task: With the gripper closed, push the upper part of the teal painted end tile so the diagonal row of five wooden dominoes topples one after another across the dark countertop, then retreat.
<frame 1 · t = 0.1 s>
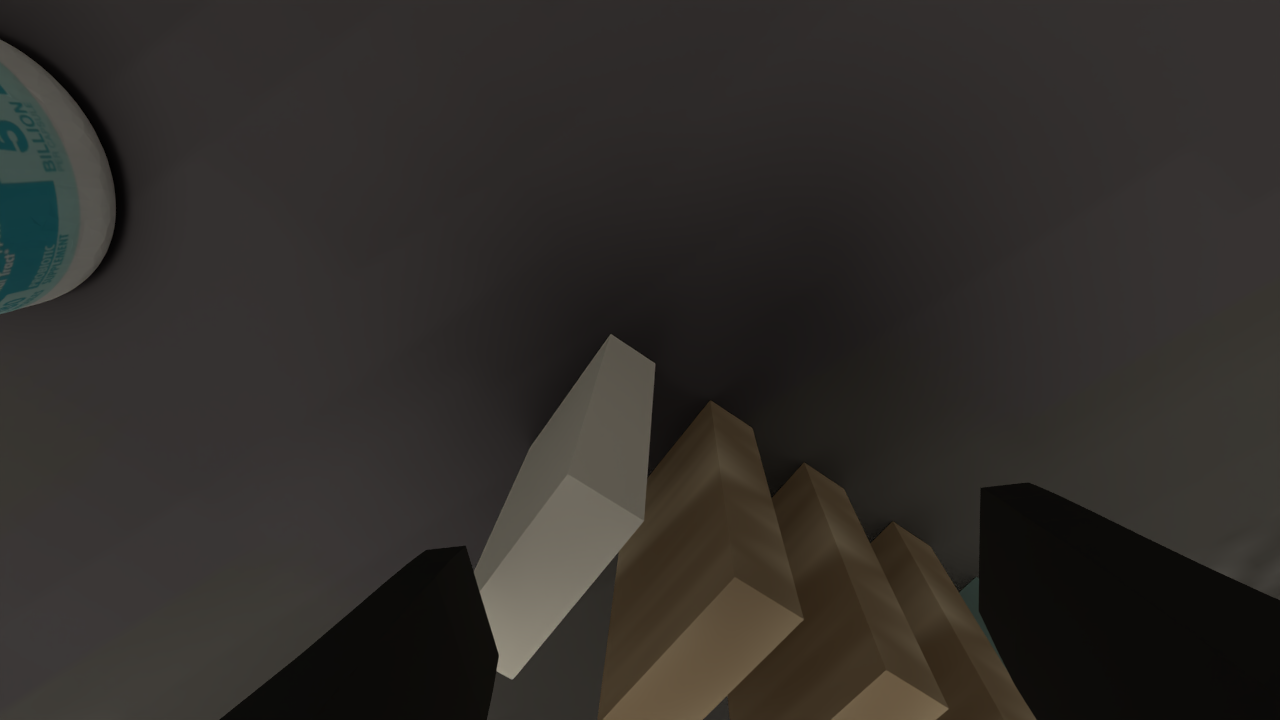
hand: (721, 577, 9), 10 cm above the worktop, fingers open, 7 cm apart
domino 1: (944, 632, 21), on the worktop
domino 3: (777, 526, 20), on the worktop
domino 4: (686, 468, 20), on the worktop
domino 2: (863, 580, 21), on the worktop
domino 5: (590, 406, 19), on the worktop
pill bottle: (8, 167, 18), on the worktop
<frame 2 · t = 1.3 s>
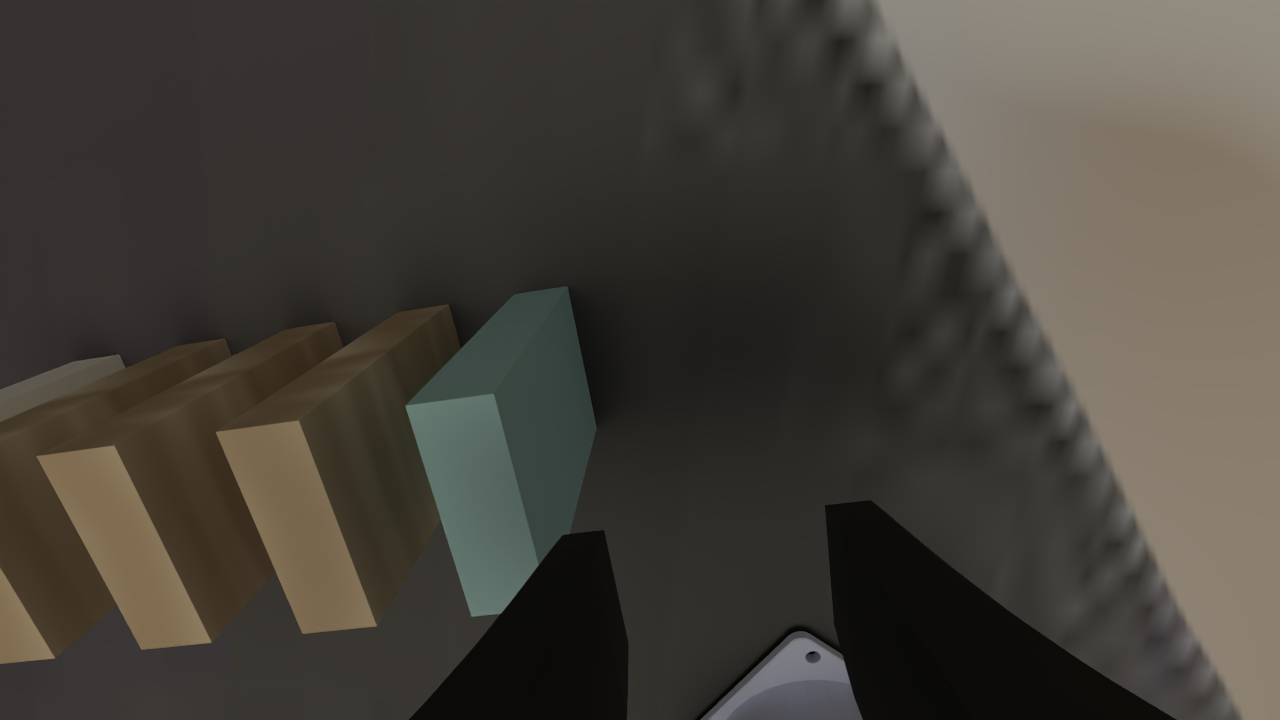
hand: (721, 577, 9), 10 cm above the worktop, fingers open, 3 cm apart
domino 1: (556, 363, 19), on the worktop
domino 3: (334, 394, 20), on the worktop
domino 4: (229, 409, 20), on the worktop
domino 2: (443, 379, 19), on the worktop
domino 5: (127, 423, 21), on the worktop
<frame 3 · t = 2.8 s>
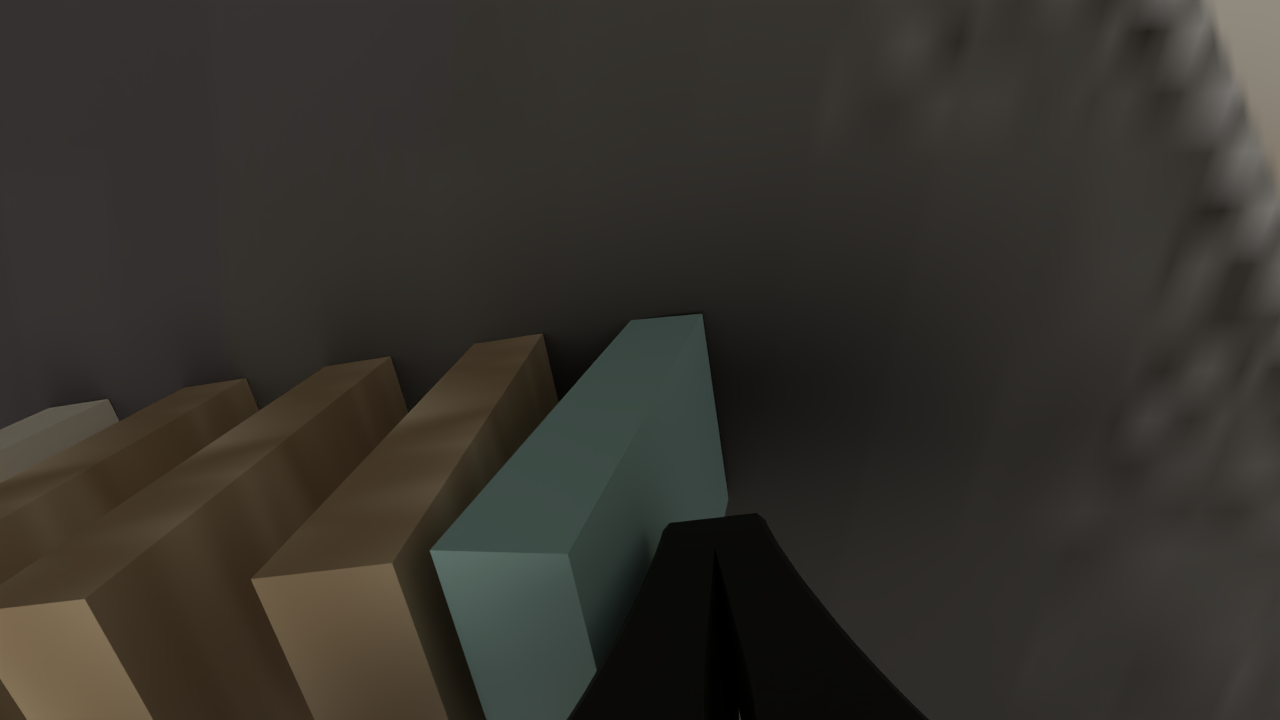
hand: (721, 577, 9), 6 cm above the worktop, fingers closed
domino 1: (681, 412, 14), on the worktop, tilted 12°
domino 3: (387, 449, 15), on the worktop
domino 4: (250, 467, 16), on the worktop
domino 2: (531, 429, 15), on the worktop
domino 5: (120, 485, 16), on the worktop
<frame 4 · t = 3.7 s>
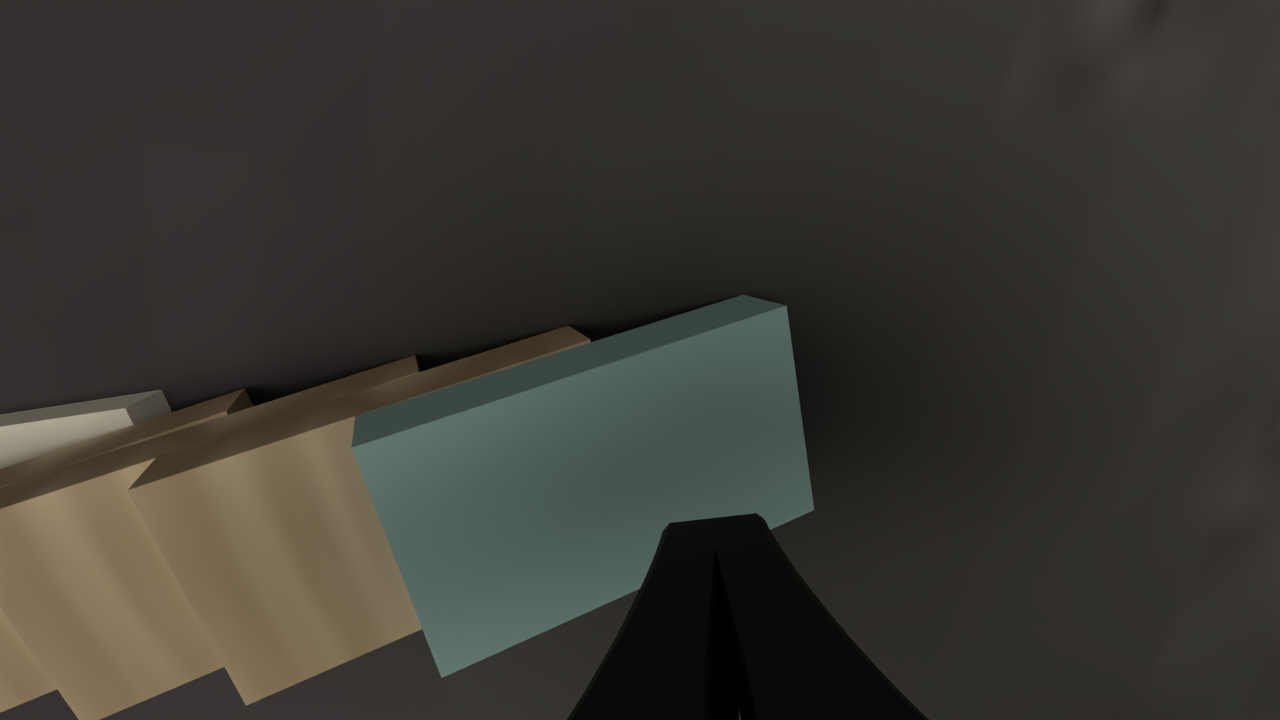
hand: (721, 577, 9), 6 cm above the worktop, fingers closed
domino 1: (778, 402, 14), point 1 cm above the worktop, tilted 65°, touching domino 2
domino 3: (451, 455, 14), point 1 cm above the worktop, tilted 65°, touching domino 2
domino 4: (281, 485, 15), point 1 cm above the worktop, tilted 68°
domino 2: (604, 429, 14), point 1 cm above the worktop, tilted 65°, touching domino 1, domino 3
domino 5: (192, 478, 16), on the worktop, tilted 91°
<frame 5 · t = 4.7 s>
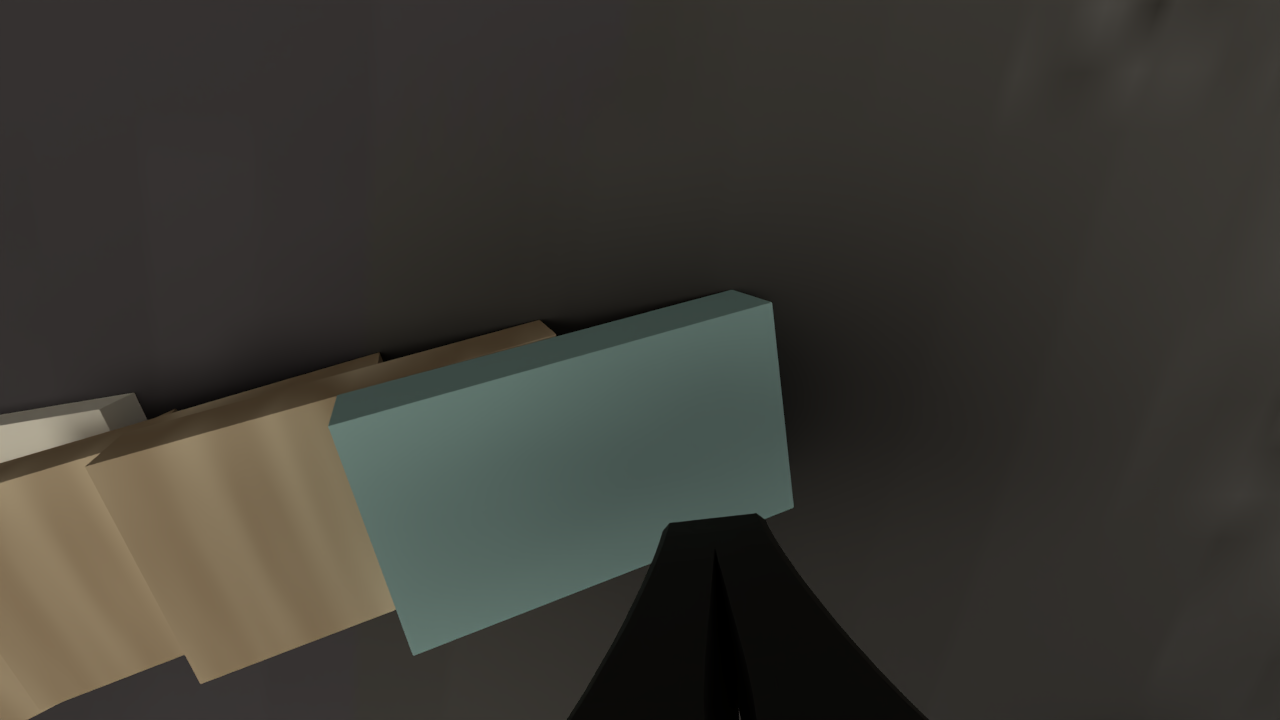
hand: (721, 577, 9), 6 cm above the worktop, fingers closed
domino 1: (762, 398, 13), point 1 cm above the worktop, tilted 67°, touching domino 2
domino 3: (413, 453, 14), point 1 cm above the worktop, tilted 67°, touching domino 2, domino 4
domino 4: (224, 501, 15), point 1 cm above the worktop, tilted 68°, touching domino 3, domino 5
domino 2: (571, 425, 14), point 1 cm above the worktop, tilted 66°, touching domino 1, domino 3
domino 5: (169, 479, 16), on the worktop, tilted 90°, touching domino 4
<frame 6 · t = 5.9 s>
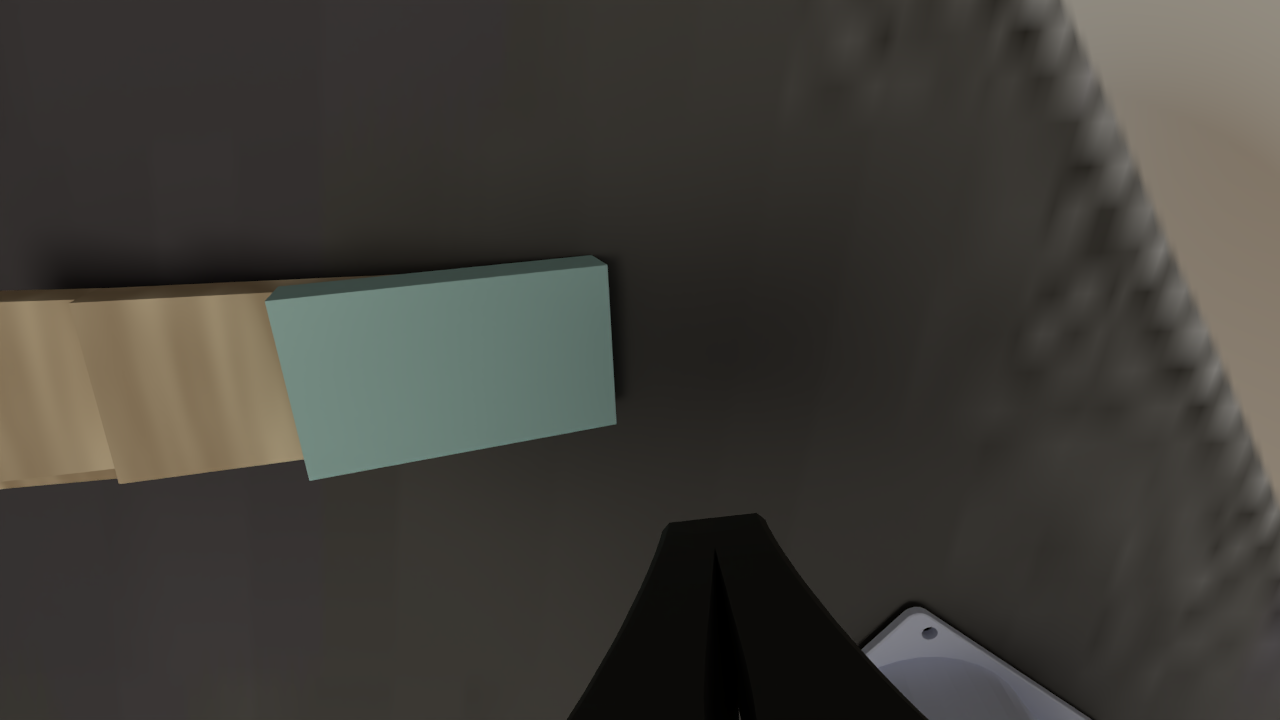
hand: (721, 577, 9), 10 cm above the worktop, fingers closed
domino 1: (604, 339, 18), point 1 cm above the worktop, tilted 68°, touching domino 2
domino 3: (287, 365, 19), point 1 cm above the worktop, tilted 65°, touching domino 2
domino 4: (110, 395, 18), point 2 cm above the worktop, tilted 89°, touching domino 5
domino 2: (444, 356, 18), point 1 cm above the worktop, tilted 67°, touching domino 1, domino 3
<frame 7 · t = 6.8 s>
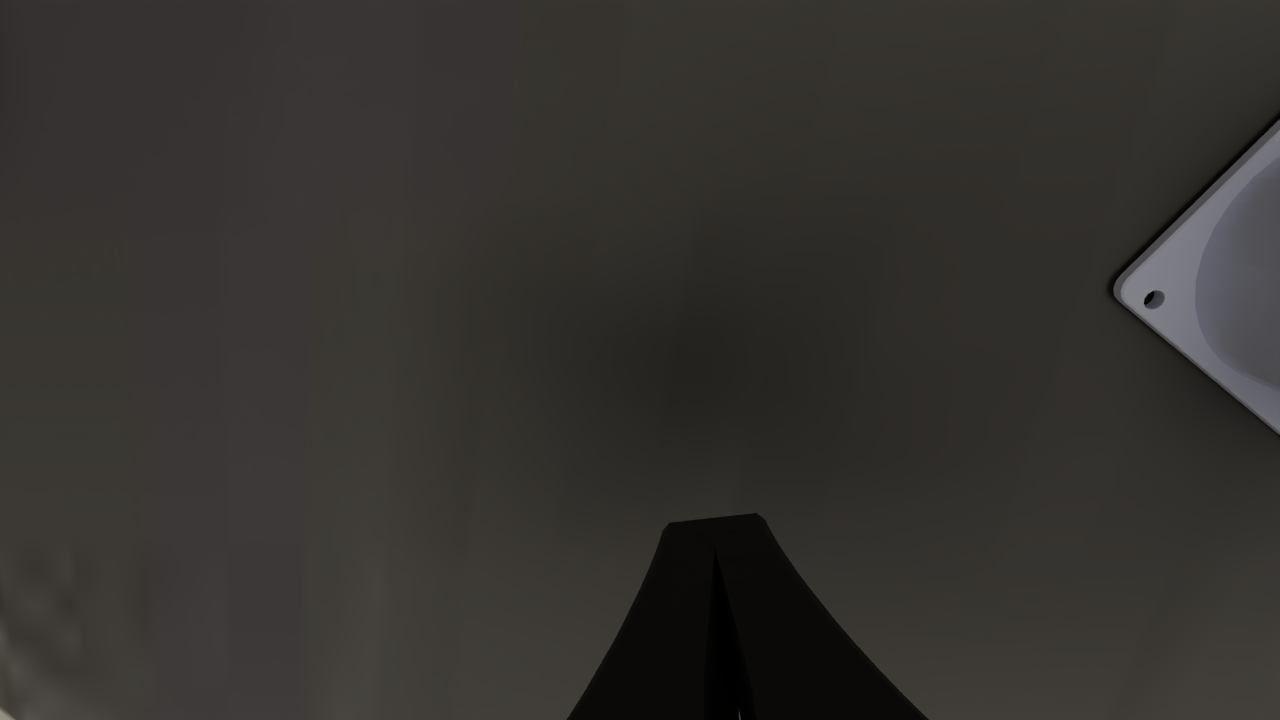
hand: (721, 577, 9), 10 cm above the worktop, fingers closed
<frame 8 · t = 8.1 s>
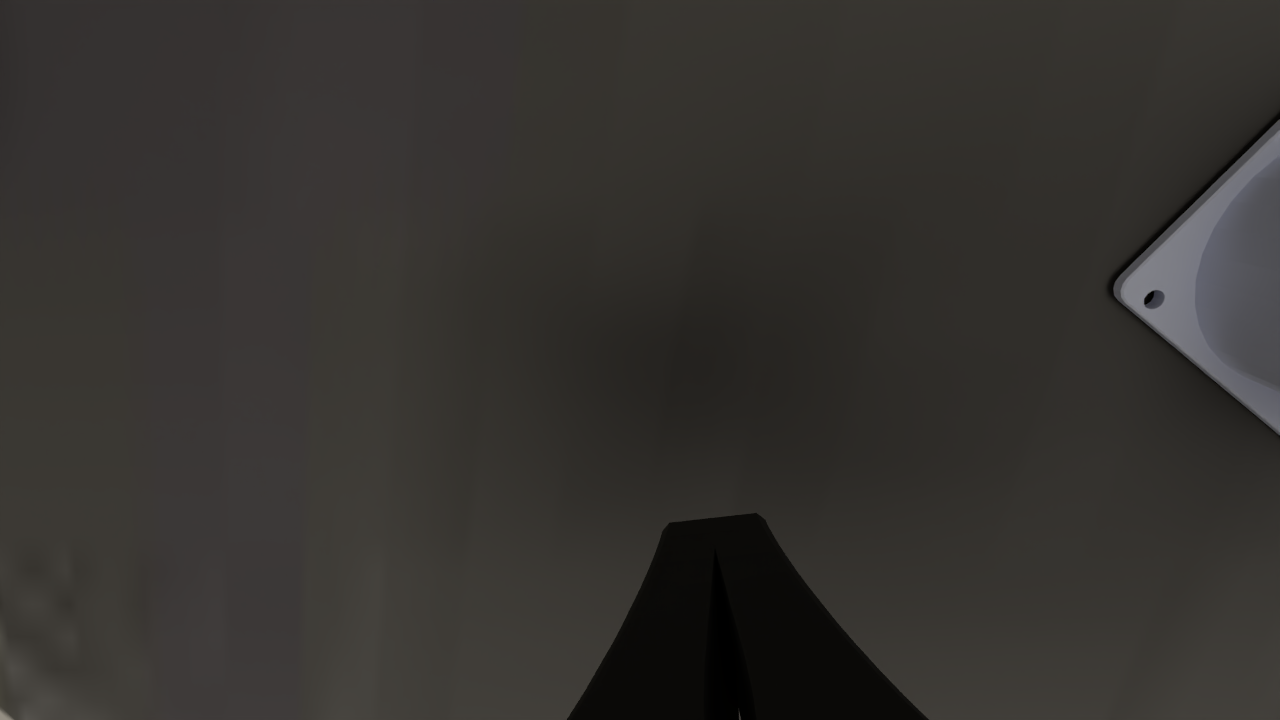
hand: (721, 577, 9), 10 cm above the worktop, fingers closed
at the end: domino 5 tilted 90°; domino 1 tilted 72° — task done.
